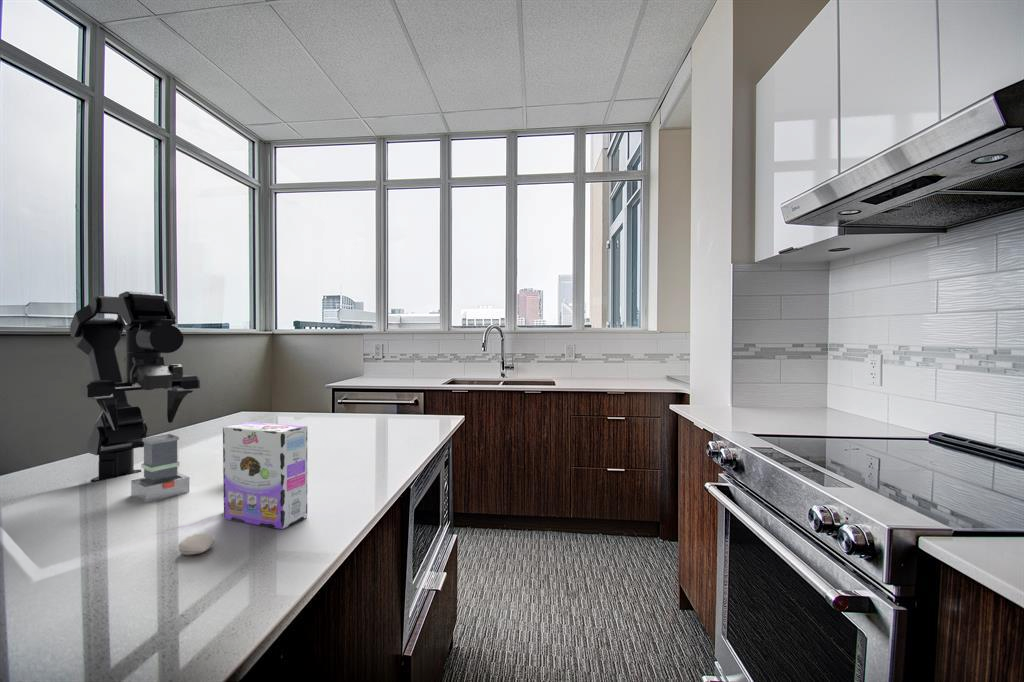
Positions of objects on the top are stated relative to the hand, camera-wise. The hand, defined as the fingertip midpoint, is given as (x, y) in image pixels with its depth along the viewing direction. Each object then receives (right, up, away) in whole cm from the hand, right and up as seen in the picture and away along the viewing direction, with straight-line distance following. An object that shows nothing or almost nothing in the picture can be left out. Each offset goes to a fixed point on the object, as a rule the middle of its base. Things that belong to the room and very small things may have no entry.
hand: (144, 426), depth 91 cm
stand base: (+9, -13, -6) cm, 17 cm away
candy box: (+34, -14, -15) cm, 39 cm away
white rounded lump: (+31, -14, -27) cm, 43 cm away
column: (+9, -9, -6) cm, 14 cm away
